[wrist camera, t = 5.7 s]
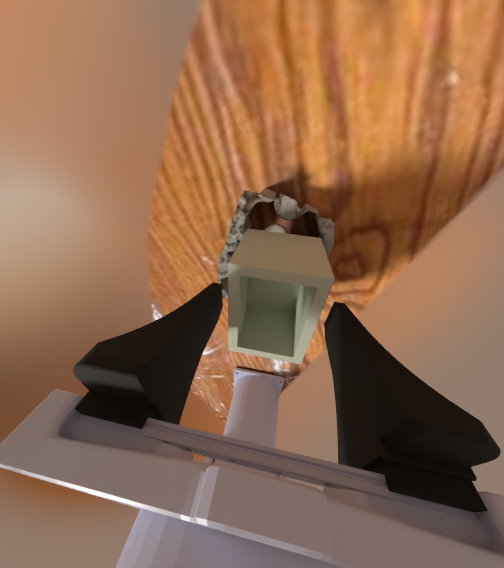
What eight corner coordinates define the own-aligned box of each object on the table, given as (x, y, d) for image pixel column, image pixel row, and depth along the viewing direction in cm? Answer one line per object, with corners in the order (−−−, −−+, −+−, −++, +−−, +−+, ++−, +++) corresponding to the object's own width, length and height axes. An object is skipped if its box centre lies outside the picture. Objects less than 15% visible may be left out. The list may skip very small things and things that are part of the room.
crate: (298, 313, 17) (300, 364, 13) (243, 303, 17) (228, 350, 13) (321, 238, 12) (335, 279, 8) (247, 228, 13) (227, 263, 9)
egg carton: (252, 174, 14) (240, 181, 11) (339, 215, 15) (353, 233, 12) (217, 278, 21) (203, 302, 17) (279, 304, 21) (277, 332, 18)
